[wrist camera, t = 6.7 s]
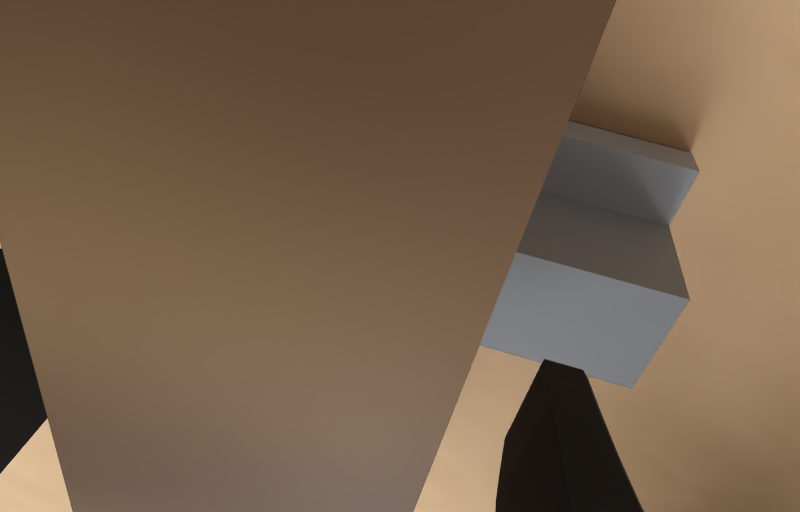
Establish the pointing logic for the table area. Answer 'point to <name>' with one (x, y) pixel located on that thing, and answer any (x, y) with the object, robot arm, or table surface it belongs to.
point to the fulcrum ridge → (597, 258)
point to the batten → (269, 232)
